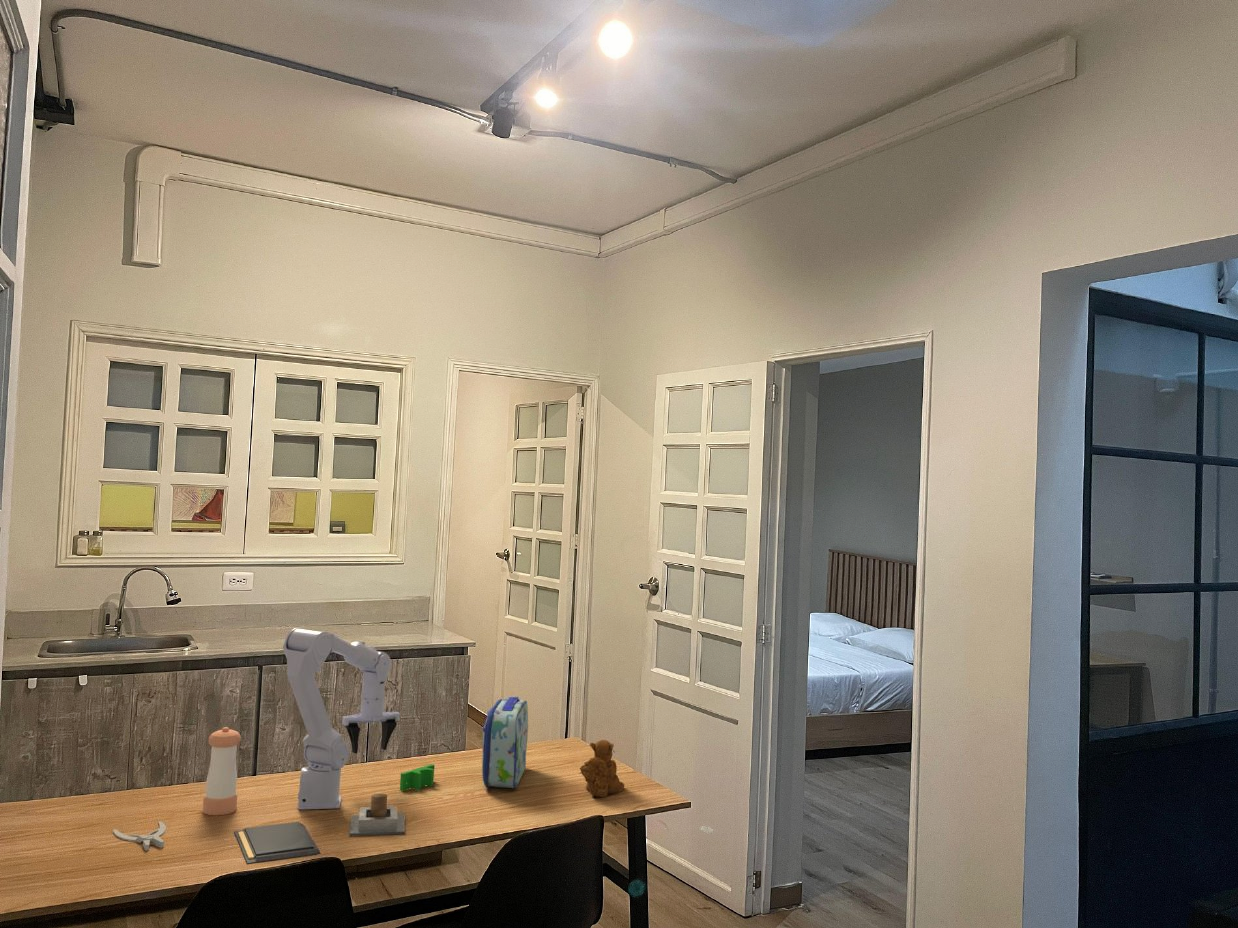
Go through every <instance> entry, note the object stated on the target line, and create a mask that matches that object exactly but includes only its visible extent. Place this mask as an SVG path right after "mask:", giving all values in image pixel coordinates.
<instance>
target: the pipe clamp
mask: <svg viewBox="0 0 1238 928" xmlns="http://www.w3.org/2000/svg"><path fill="white" fill-rule="evenodd" d="M434 778H435V764H433V763H431V764H430V763H429V764H427V765H424V766H422V767H417V768H415V769H414V768H413V769H411V770H407V771H404V772H401V773H400V782H399V783H400V784H399V791H400V790H402V791H401V792H404V790H405V791H408V790H410V789H409V788H414V789H417V790H416V791H418V790H419V791H421V790H422V787H430V786H431V787H433V785H434V781H435V779H434ZM425 785H427V786H425ZM421 786H422V787H421ZM407 789H408V790H407ZM414 789H413V790H414ZM420 789H421V790H420Z"/></svg>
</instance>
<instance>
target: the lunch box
mask: <svg viewBox="0 0 1238 928" xmlns="http://www.w3.org/2000/svg"><path fill="white" fill-rule="evenodd" d="M486 713H487V714H486V720H485V723H484V724H483V727H482V759H481V764H482V767H481V770H482V772H481V773H482V782H483V786H485V787H489V786H490V787H495V788H511V789H515V788H518V785H519V783H520V781H521V779H522V777H523V774H524V772H525V770H526V766H527V747H528V735H529V734H528V733H529V707H528V701H526V700H524V699H520V698H519V696H509V697H508V698H507V699H506V698H504V699H502V698H499V699H498V700H496V702H495V703H494V705H493V706H492V707H491V708H490V709H489V710H488V711H487V712H486Z"/></svg>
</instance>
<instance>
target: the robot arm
mask: <svg viewBox="0 0 1238 928" xmlns="http://www.w3.org/2000/svg"><path fill="white" fill-rule="evenodd" d="M282 649H283V652H284V655H285V657H286V673H287V674H286V676H287V679H288V681H289V685H290V687H291V690H292V693H293V695H294V699H295V701H296V704H297V707H298V710H299V713H300V716H301V718H302V721H303V724H304V727H305V729H306V732H307V734H306V735H305V736H304V738H303V739H302V741H301V742H302V745H303V757H304V760H305V761H306V762H307V766H305V767H301V770H300V778H299V789H298V793H297V799H298V802H297V803H298V804H297V810H320V809H321V810H322V809H323V810H326V809H327V810H328V809H329V810H331V809H333V810H334V809H340V807H341V800H342V796H341V795H340V790H341V789H340V788H341V776H342V775H341V772H342V768H344V765H346V763H347V762H348V760H349V756H350V746H349V744H348V743H347V742H346V741H345V739H343V736H342V734H341V733H339V732H338V731H337V730H336V729H335V728H333V727H332V723H331V721H330V718H329V716H328V712H327V709H326V707H325V704H324V701H323V700H324V699H323V698H322V695H321V692H320V689H319V687H318V686H319V685H318V683H317V681H316V677H315V673H317V672H319V670H320V669H321V667H322V666H323V664H324V662H325V661H326V660H327V658H328V656H329V655H330V653H331V654H333V653H334V654H338V655H340V656H343V659H344V662H345V663H347V664H349V665H351V666H353V667H356V668H358V669H359V671H360V672H361V673H362V683H361V684H362V686H361V699H360V700H361V701H360V713H357V714H352V715H347V716H346V715H345V716H342V725H343V726H345V729H346V732H347V734H348V737H349V741H350V745H351V751H352V753H353V754H358V752H359V751H358V750H359V739H360V738H359V737H360V731H361V727H359V724H369V723H370V724H371V723H381V742H380V749H381V750H383V751H386V750H387V749H388V745H389V742H390V739H391V737H392V734H393V732H394V731H395V729H396V728H397V722H398V721H400V718H401V717H400V716H401V713H400V712H398V711H384V707H385V706H384V705H385V689H386V687H385V686H386V681H387V679H388V676H389V671H390V670H391V668H392V661H391V657H390V655H388V653H386V652H384V651H378V650H376V649H377V648H376V647H374V646H369V645H366V642H365V641H363V640H357V641H352V642H349V641H347V640H345V639H343V638H341V637H339V636H337V635H335V634H334V633H330V632H328V631H324V630H323V631H318V630H310V629H304V628H300V627H295V628H293V629H291V630H290V631H289V632H288V634H287V636H286V637H285V640H284V642H283V644H282Z"/></svg>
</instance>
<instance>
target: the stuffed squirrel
mask: <svg viewBox="0 0 1238 928" xmlns="http://www.w3.org/2000/svg"><path fill="white" fill-rule="evenodd" d="M589 746H590V748H591V749H592V750H593V752H594V753H593V754H594V755H593V756H594V757H590V758H589V760H587V761H585V762H584V764H583V765H581V766H580V767H579V770H580V772H578V773H579V775H580V774H581V775H582V777H583V778H584V780H585V782H586V783H587V784H586V786H585V789H586V790H587V791H588V793H590V795H592V796H593V797H595V798H596V797H598V798H603V797H604V798H606V797H607V796H608V795H612V794H611V793H614V794H617V792H619V793H621V792H622V791H623V790H624V789H625V783H624V782H622V781H620V778H619V775H617V770H618V769H617V768H618V767H617V763H616V761H615V760H614V759H613V753H614V754H615V753H616V751H615V750H614V747H615V744H614V743H612V742H610V741H608V740H606V739H602V740H599V741H596V742H595V743H594V742H590V743H589ZM621 790H622V791H621ZM620 791H621V792H620Z"/></svg>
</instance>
